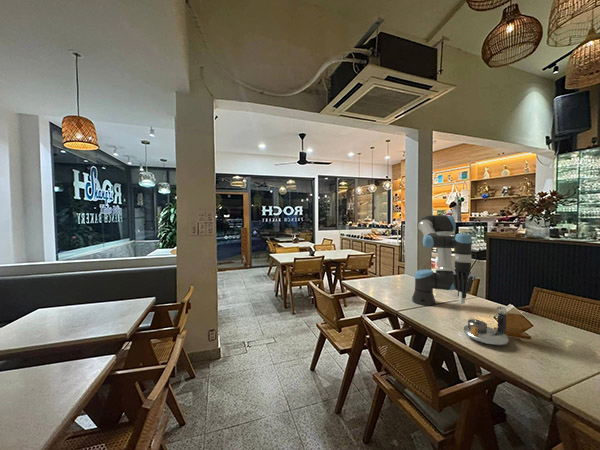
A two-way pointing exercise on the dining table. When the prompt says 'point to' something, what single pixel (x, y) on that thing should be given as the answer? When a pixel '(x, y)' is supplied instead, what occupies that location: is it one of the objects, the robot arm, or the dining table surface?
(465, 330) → the platter
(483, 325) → the cover
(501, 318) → the indicator post
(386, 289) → the dining table surface
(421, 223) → the robot arm
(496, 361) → the dining table surface
